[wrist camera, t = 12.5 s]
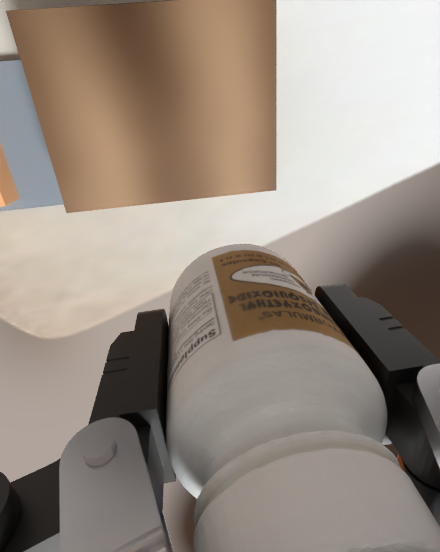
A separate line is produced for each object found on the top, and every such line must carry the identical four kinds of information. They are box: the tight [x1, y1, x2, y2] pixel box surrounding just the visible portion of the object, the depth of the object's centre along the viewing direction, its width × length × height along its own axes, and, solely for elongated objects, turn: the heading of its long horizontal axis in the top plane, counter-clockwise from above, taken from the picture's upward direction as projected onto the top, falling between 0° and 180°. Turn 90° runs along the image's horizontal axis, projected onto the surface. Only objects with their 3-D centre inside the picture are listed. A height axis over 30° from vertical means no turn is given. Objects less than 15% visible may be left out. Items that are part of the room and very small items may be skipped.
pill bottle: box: [166, 244, 440, 552], centre depth 8 cm, size 4×4×8 cm
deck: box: [6, 0, 276, 213], centre depth 19 cm, size 12×9×4 cm
